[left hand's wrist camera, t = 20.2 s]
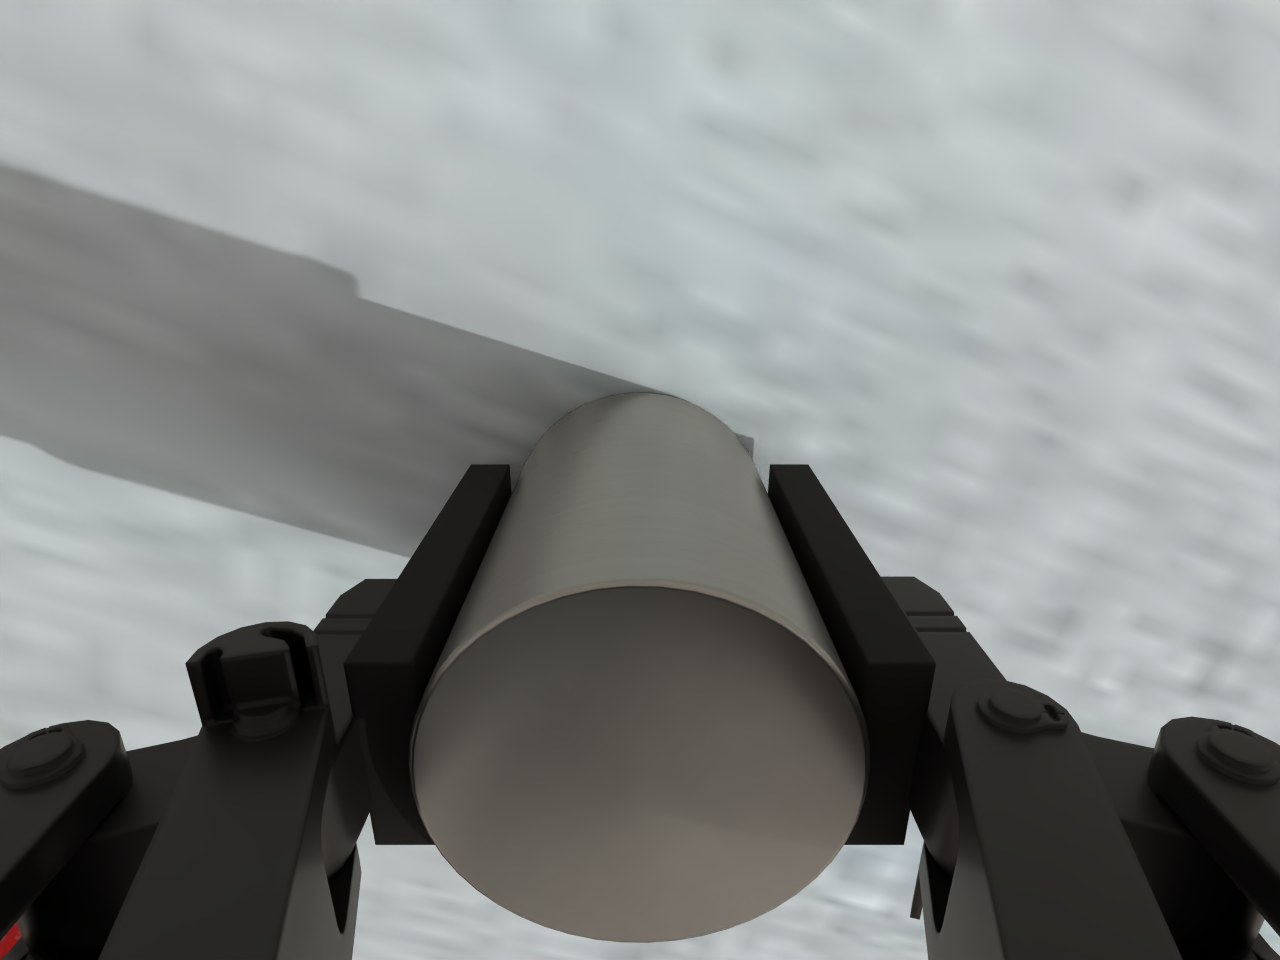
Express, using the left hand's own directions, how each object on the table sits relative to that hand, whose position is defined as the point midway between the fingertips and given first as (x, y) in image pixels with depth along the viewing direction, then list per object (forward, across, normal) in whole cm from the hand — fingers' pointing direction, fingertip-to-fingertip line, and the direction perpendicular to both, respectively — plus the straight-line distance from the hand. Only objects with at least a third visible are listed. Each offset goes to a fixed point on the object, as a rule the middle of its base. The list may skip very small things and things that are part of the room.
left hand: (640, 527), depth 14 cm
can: (+1, 0, 0) cm, 1 cm away
